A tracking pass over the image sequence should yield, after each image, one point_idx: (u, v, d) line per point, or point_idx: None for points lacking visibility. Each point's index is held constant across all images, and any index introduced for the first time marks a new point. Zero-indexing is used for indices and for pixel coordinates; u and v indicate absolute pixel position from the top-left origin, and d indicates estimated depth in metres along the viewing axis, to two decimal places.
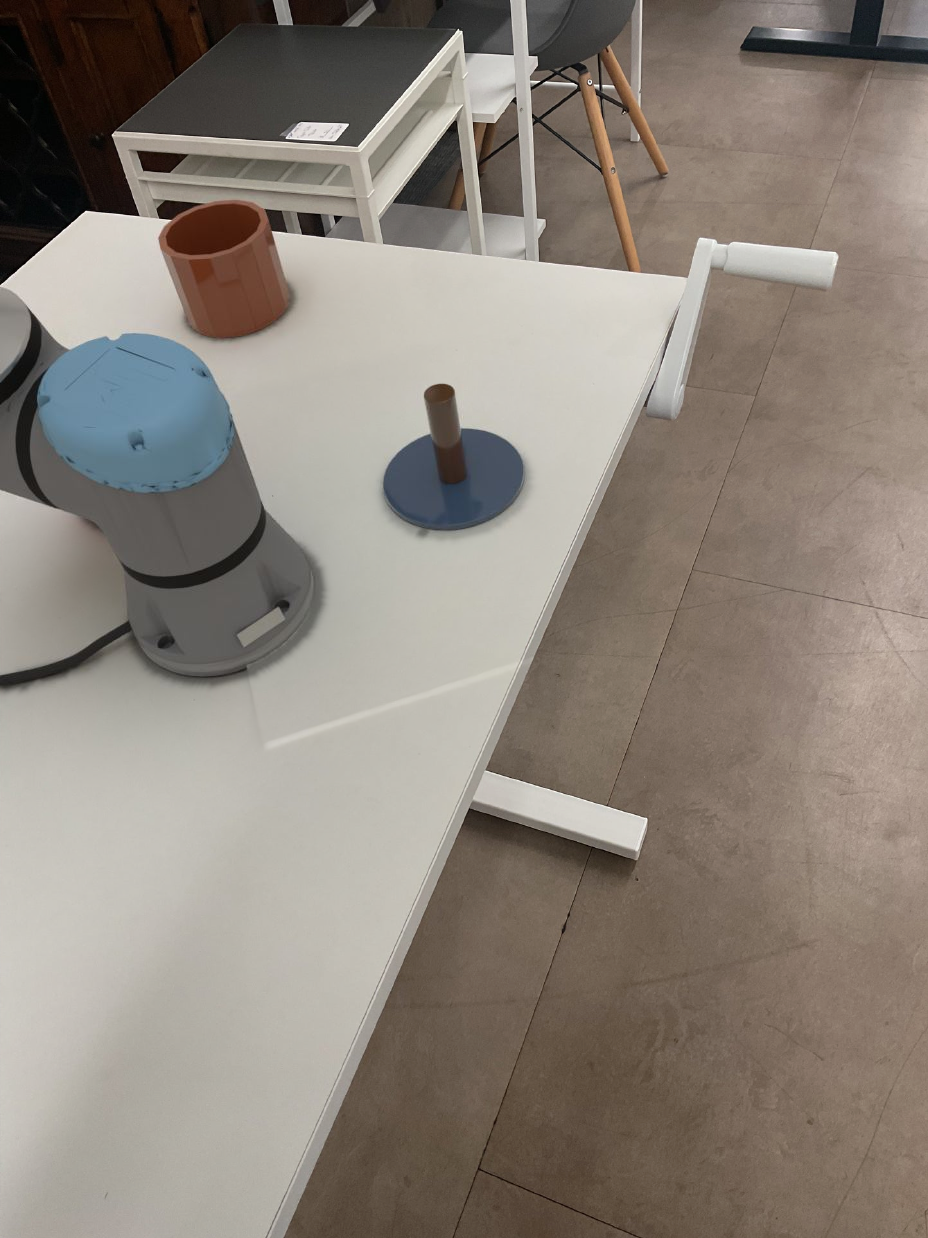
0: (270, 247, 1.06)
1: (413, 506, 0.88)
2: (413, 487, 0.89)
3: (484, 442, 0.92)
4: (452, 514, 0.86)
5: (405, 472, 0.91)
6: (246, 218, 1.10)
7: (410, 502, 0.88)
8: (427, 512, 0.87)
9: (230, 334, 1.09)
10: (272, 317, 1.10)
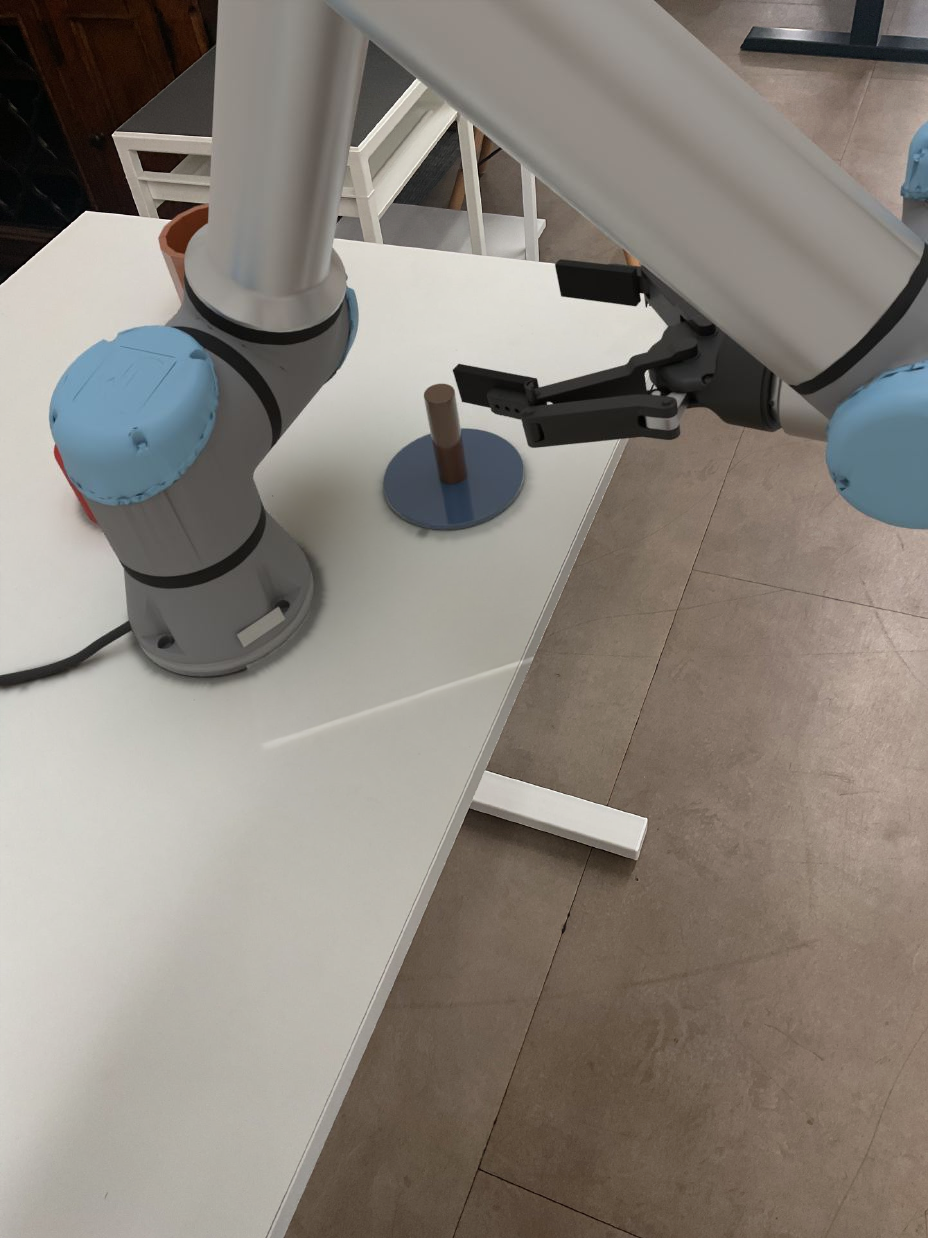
0: None
1: (413, 506, 0.88)
2: (413, 487, 0.89)
3: (484, 442, 0.92)
4: (452, 514, 0.86)
5: (405, 472, 0.91)
6: None
7: (410, 502, 0.88)
8: (427, 512, 0.87)
9: None
10: None
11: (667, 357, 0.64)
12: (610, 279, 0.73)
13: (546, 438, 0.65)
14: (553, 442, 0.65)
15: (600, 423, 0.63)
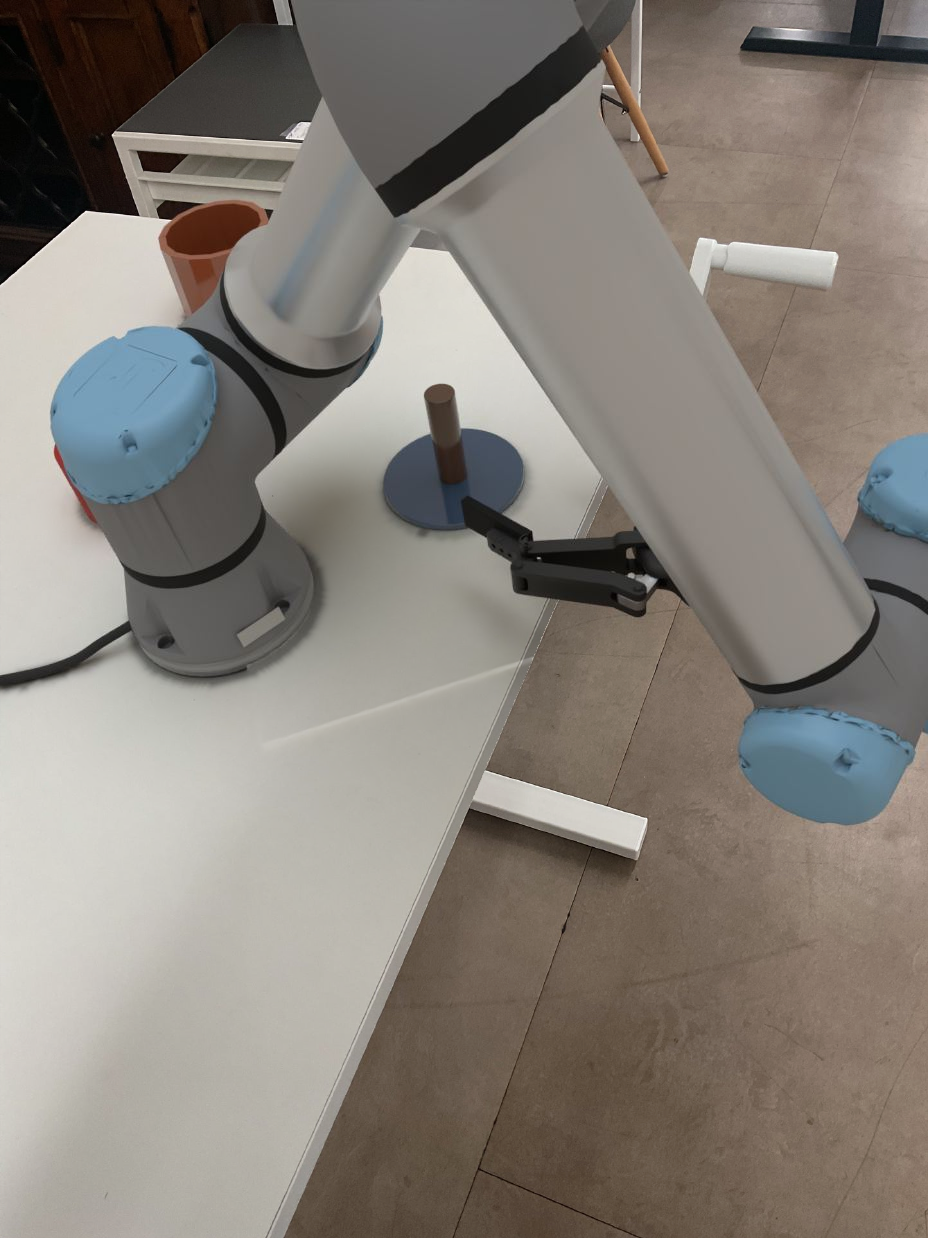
0: None
1: (413, 506, 0.88)
2: (413, 487, 0.89)
3: (484, 442, 0.92)
4: (452, 514, 0.86)
5: (405, 472, 0.91)
6: (246, 218, 1.10)
7: (410, 502, 0.88)
8: (427, 512, 0.87)
9: None
10: None
11: None
12: None
13: (529, 589, 0.73)
14: (535, 594, 0.73)
15: (578, 590, 0.71)
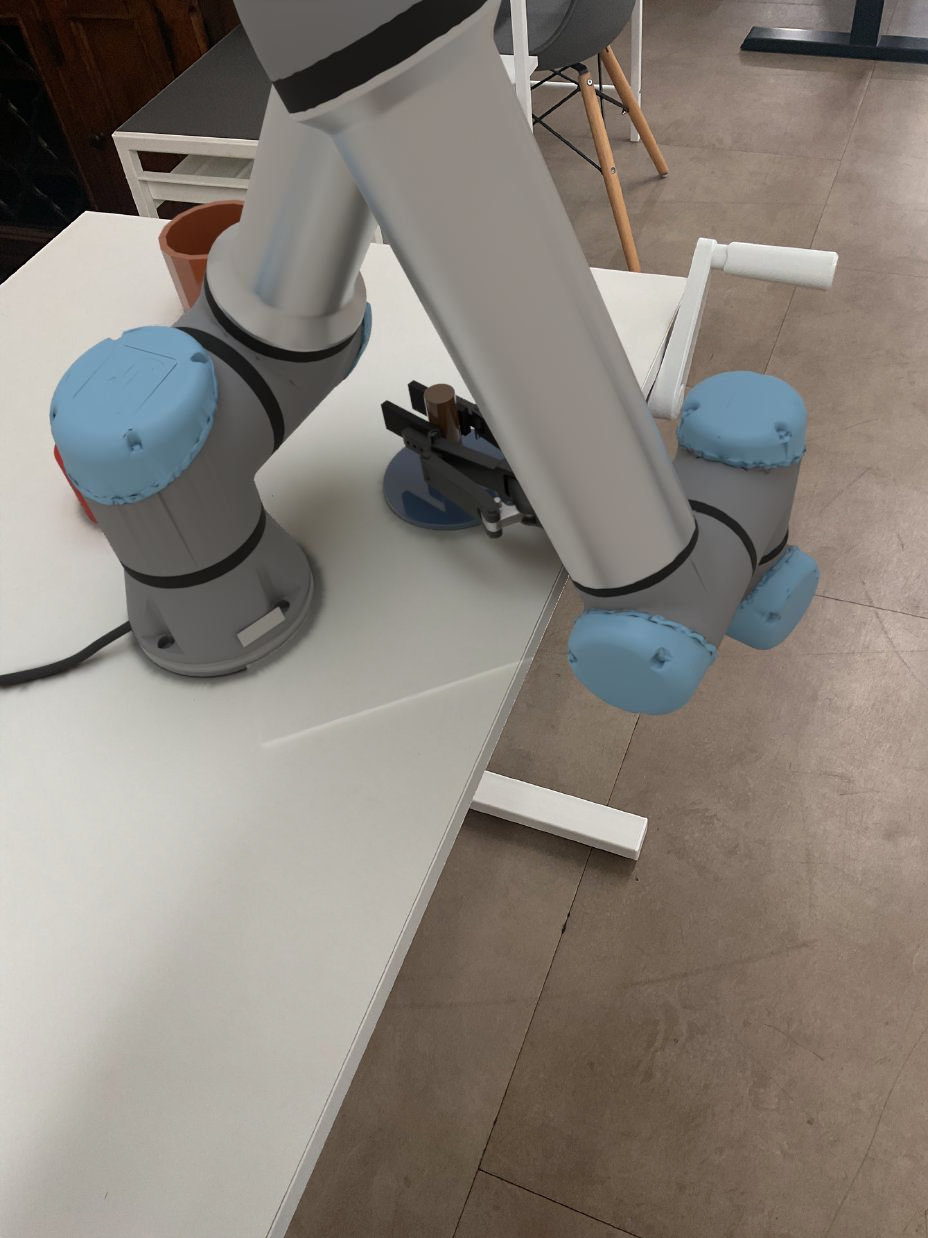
0: None
1: (413, 506, 0.88)
2: (413, 487, 0.89)
3: (484, 442, 0.92)
4: (452, 514, 0.86)
5: (405, 472, 0.91)
6: None
7: (410, 502, 0.88)
8: (427, 512, 0.87)
9: None
10: None
11: None
12: None
13: (430, 480, 0.82)
14: (434, 486, 0.82)
15: (458, 495, 0.80)
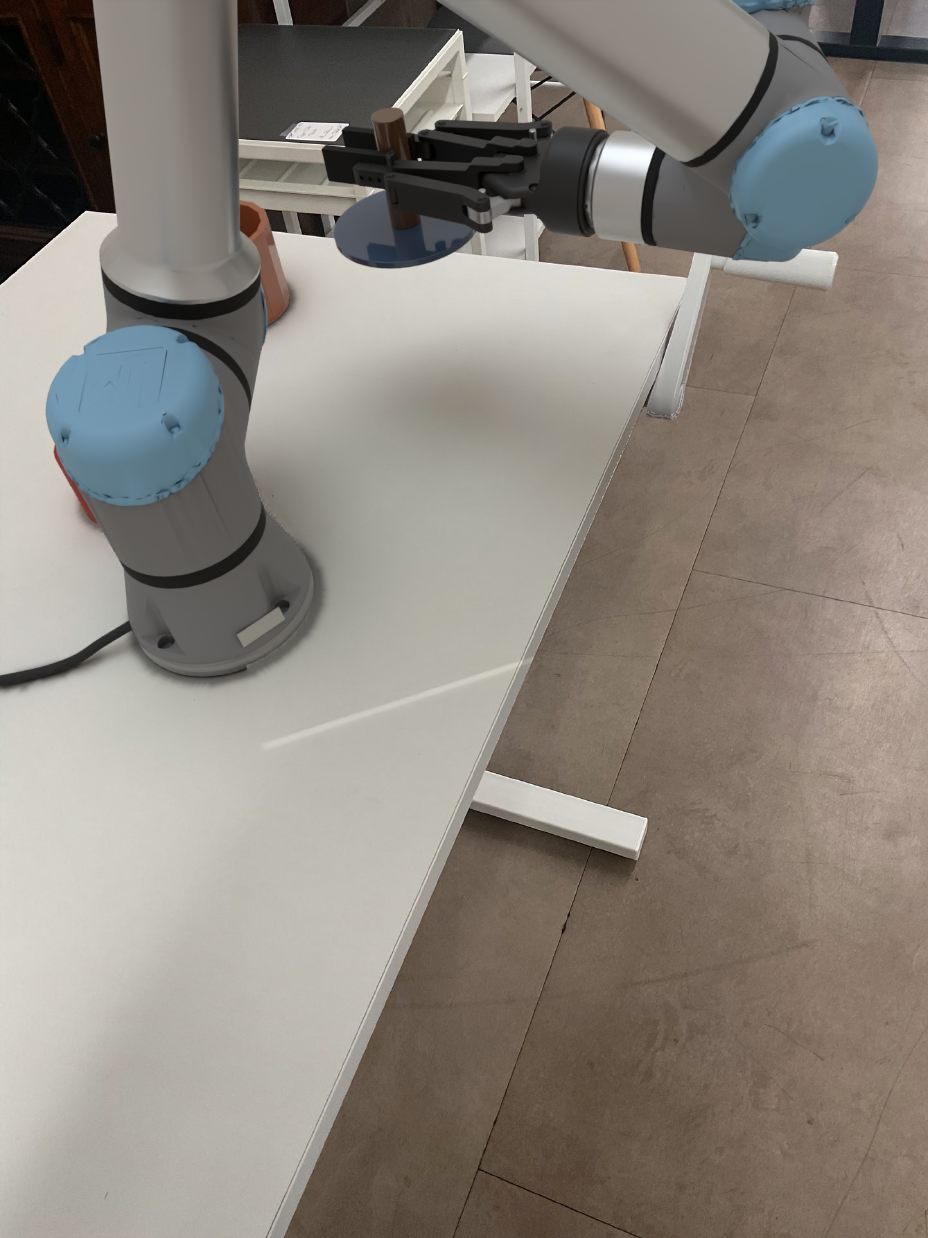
0: (270, 247, 1.06)
1: (377, 252, 0.84)
2: (369, 238, 0.85)
3: None
4: (421, 249, 0.83)
5: (355, 229, 0.86)
6: (246, 218, 1.10)
7: (372, 250, 0.84)
8: (394, 253, 0.83)
9: None
10: (272, 317, 1.10)
11: (495, 165, 0.76)
12: None
13: (399, 202, 0.79)
14: (404, 208, 0.79)
15: (436, 202, 0.77)
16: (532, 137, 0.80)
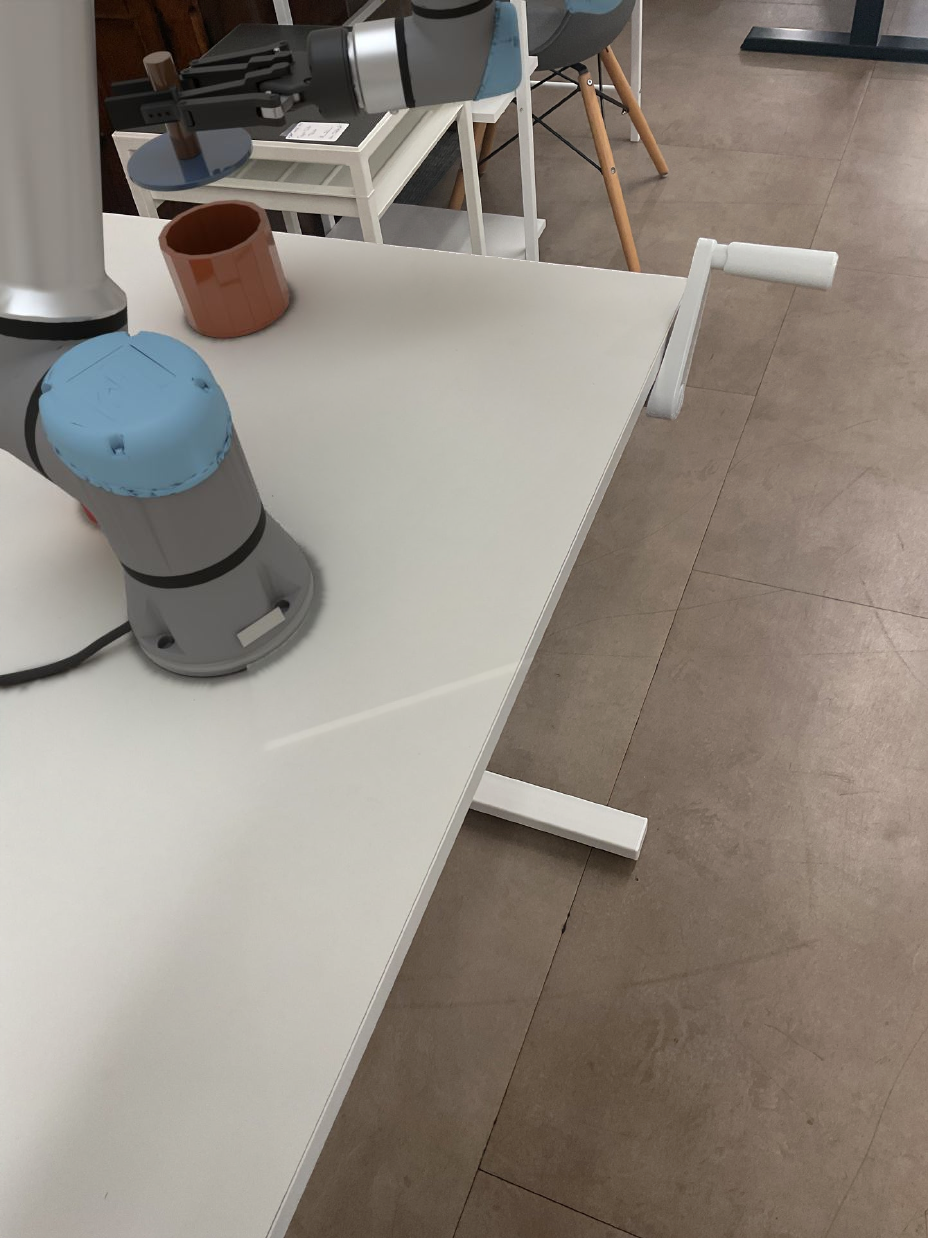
0: (270, 247, 1.06)
1: (181, 177, 0.97)
2: (167, 171, 0.98)
3: None
4: (218, 166, 0.97)
5: (148, 169, 0.99)
6: (246, 218, 1.10)
7: (176, 177, 0.97)
8: (197, 174, 0.97)
9: (230, 334, 1.09)
10: (272, 317, 1.10)
11: (268, 73, 0.92)
12: None
13: (196, 124, 0.93)
14: (201, 127, 0.93)
15: (231, 112, 0.92)
16: None
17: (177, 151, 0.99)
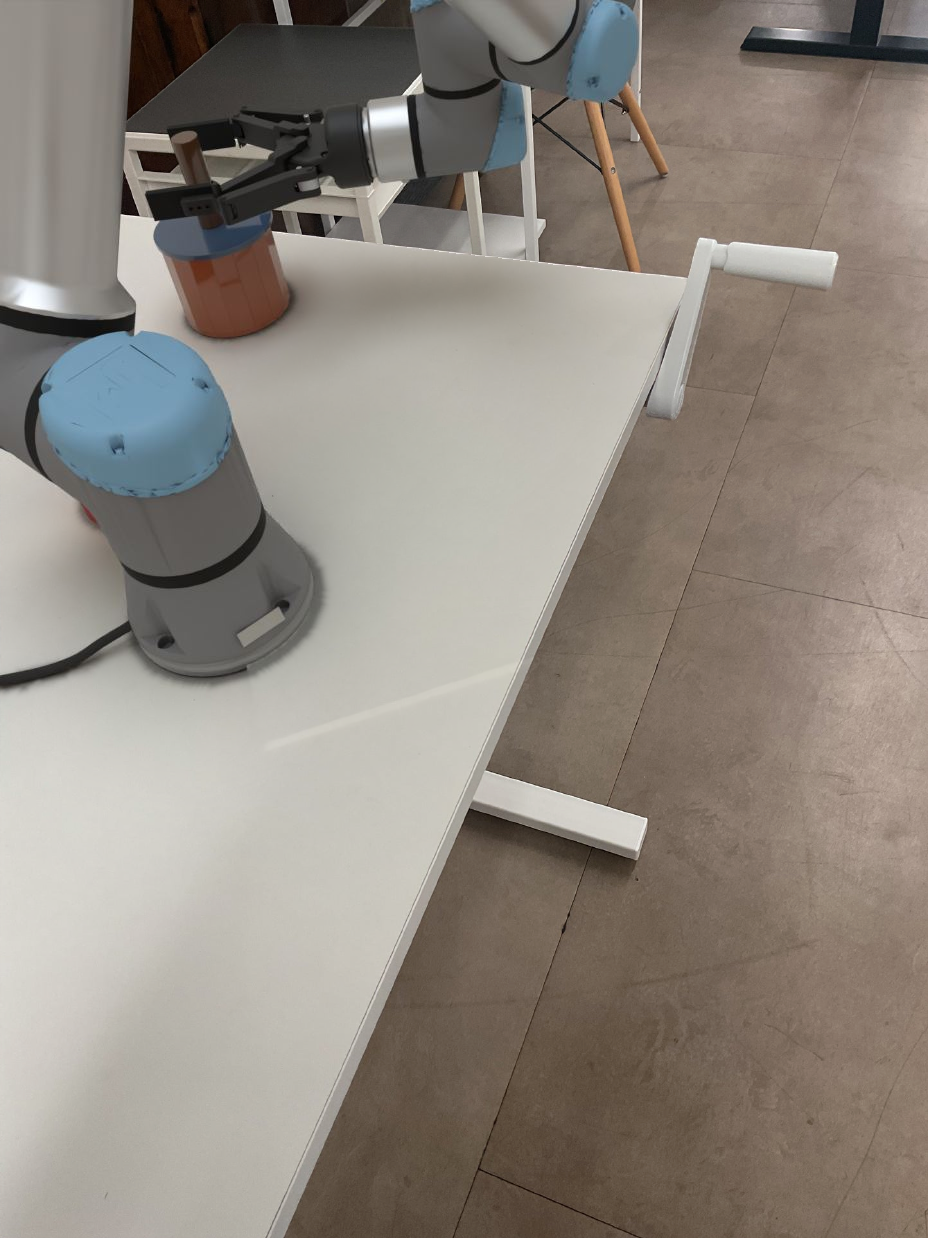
0: (270, 247, 1.06)
1: (205, 248, 1.02)
2: (191, 241, 1.04)
3: None
4: (240, 236, 1.03)
5: (174, 238, 1.04)
6: None
7: (200, 247, 1.02)
8: (220, 245, 1.02)
9: (230, 334, 1.09)
10: (272, 317, 1.10)
11: (293, 148, 0.97)
12: (212, 130, 1.05)
13: (239, 215, 0.95)
14: (244, 217, 0.95)
15: (271, 194, 0.95)
16: (306, 121, 1.03)
17: (201, 221, 1.04)
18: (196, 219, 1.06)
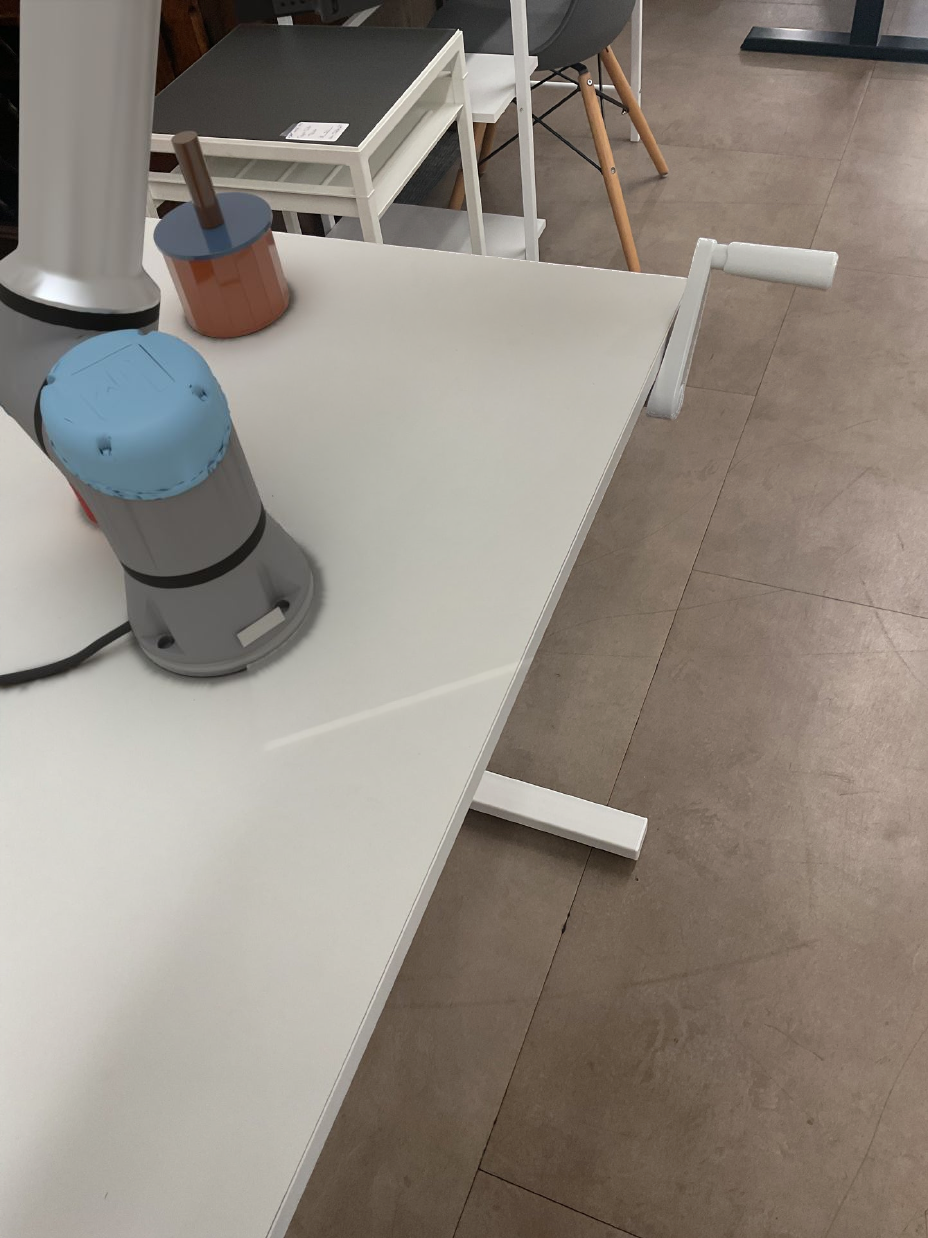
0: (270, 247, 1.06)
1: (205, 248, 1.02)
2: (191, 241, 1.04)
3: None
4: (240, 236, 1.03)
5: (174, 238, 1.04)
6: None
7: (200, 247, 1.02)
8: (220, 245, 1.02)
9: (230, 334, 1.09)
10: (272, 317, 1.10)
11: None
12: None
13: (339, 9, 0.82)
14: (344, 12, 0.82)
15: None
16: None
17: (201, 221, 1.04)
18: (196, 219, 1.06)
